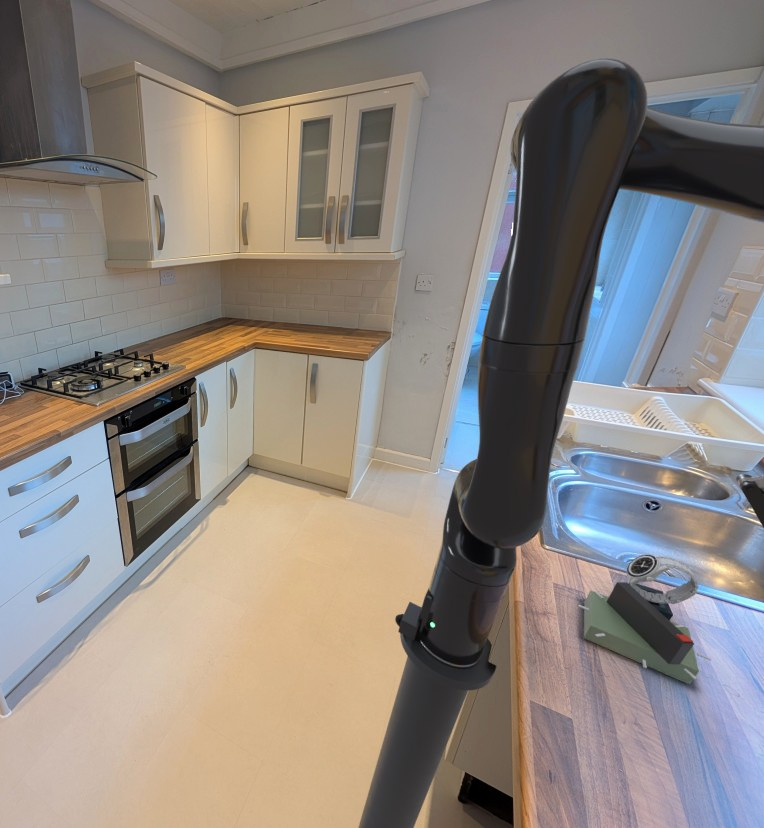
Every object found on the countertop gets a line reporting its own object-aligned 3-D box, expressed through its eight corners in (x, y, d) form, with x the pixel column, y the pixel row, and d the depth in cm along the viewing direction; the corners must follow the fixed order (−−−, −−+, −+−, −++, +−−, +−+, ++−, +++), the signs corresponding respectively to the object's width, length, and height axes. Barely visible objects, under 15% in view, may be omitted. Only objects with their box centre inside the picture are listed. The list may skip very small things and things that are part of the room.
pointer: (606, 601, 71) (617, 580, 69) (615, 601, 71) (627, 580, 69) (668, 664, 61) (684, 642, 59) (679, 664, 61) (695, 642, 59)
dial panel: (570, 651, 66) (577, 637, 65) (572, 590, 77) (579, 577, 76) (711, 715, 57) (723, 701, 56) (691, 637, 68) (701, 623, 67)
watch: (608, 589, 77) (633, 542, 72) (668, 608, 73) (699, 560, 69) (615, 612, 73) (642, 563, 68) (679, 633, 69) (713, 583, 64)
